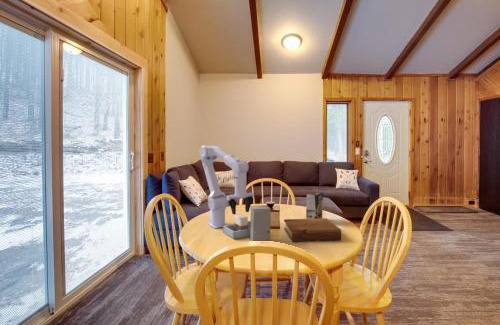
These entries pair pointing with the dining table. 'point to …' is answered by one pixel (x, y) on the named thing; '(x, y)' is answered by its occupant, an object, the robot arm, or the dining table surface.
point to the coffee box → (314, 205)
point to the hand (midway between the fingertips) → (240, 212)
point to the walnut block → (239, 227)
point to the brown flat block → (312, 230)
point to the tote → (237, 234)
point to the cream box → (241, 219)
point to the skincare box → (260, 223)
